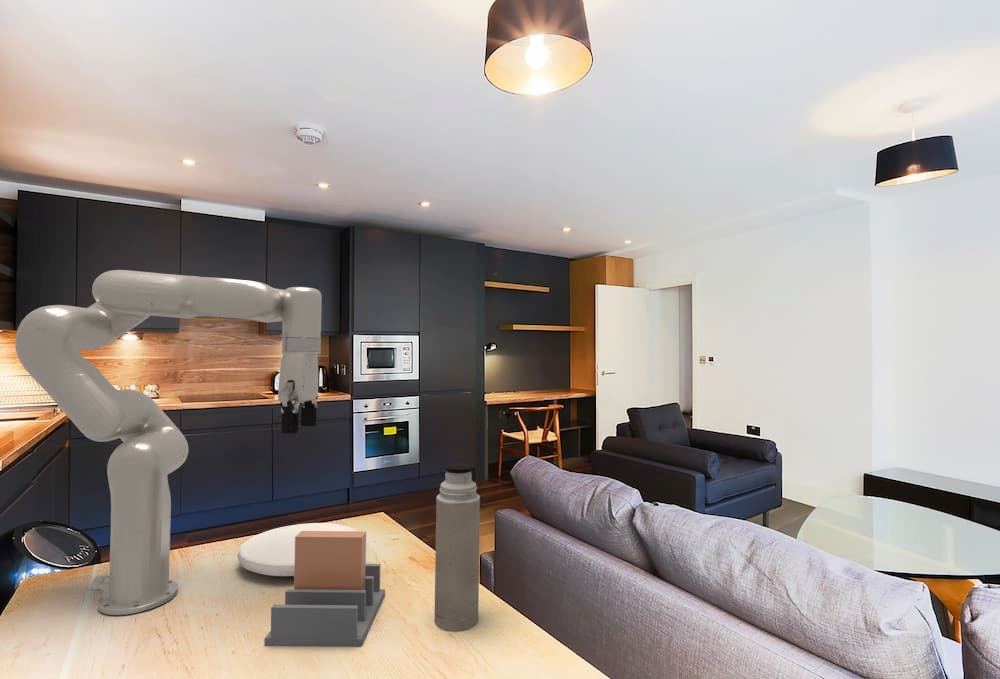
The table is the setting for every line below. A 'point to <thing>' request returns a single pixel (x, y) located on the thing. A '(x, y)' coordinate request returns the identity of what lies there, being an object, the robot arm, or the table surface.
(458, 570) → the thermos bottle
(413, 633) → the table surface
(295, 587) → the tile
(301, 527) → the plate
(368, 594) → the dish rack
